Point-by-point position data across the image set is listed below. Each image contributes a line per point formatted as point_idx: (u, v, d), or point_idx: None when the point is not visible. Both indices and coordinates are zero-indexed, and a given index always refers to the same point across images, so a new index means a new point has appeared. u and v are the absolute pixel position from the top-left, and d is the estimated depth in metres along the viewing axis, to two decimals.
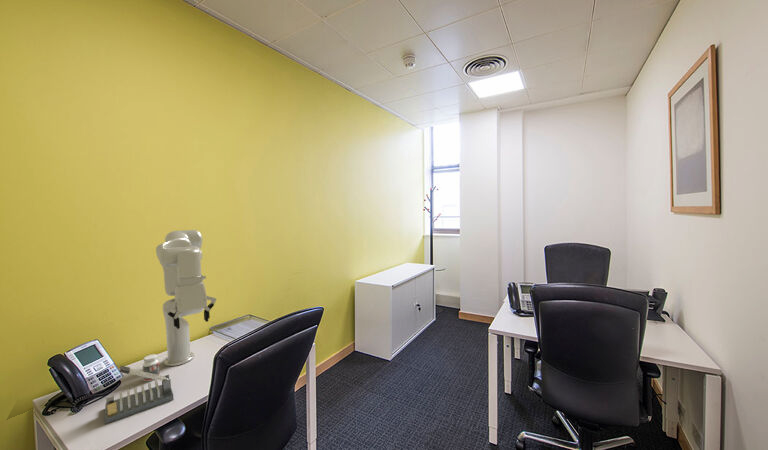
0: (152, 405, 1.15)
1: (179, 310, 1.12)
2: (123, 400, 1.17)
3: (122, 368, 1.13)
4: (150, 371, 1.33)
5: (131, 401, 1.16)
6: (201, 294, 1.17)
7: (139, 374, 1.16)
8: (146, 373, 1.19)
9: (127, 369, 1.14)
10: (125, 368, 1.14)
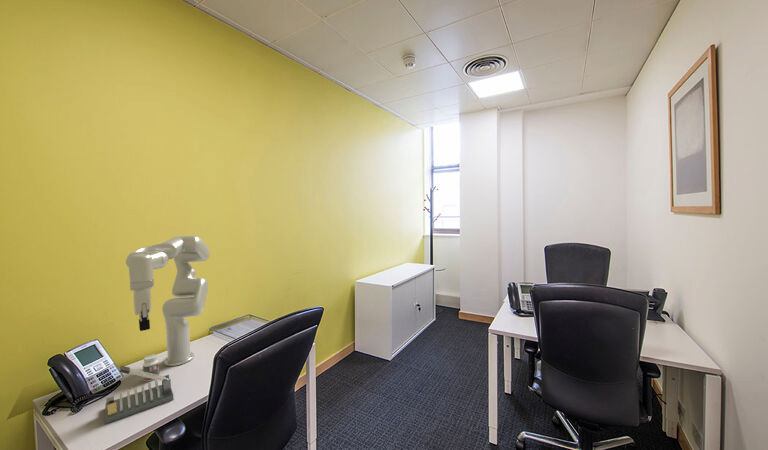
0: (152, 405, 1.15)
1: (150, 310, 1.21)
2: (123, 400, 1.17)
3: (122, 368, 1.13)
4: (150, 371, 1.33)
5: (131, 401, 1.16)
6: None
7: (139, 374, 1.16)
8: (146, 373, 1.19)
9: (127, 369, 1.14)
10: (125, 368, 1.14)
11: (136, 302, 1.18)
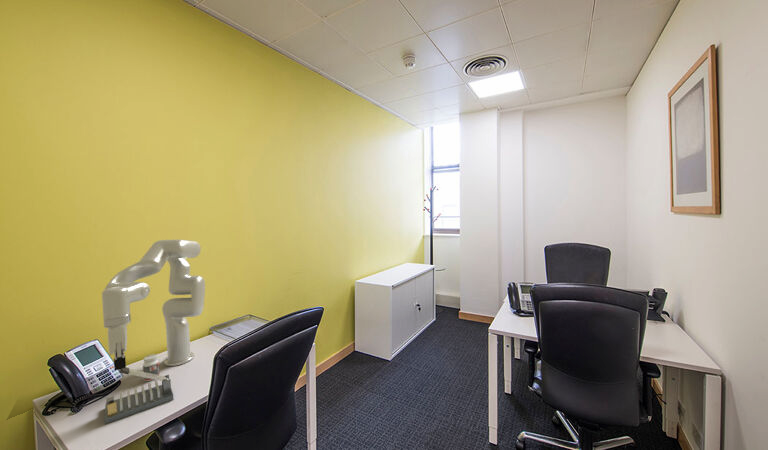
0: (152, 405, 1.15)
1: None
2: (123, 400, 1.17)
3: (121, 369, 1.13)
4: (150, 371, 1.33)
5: (131, 401, 1.16)
6: None
7: (139, 374, 1.16)
8: (146, 373, 1.18)
9: (127, 370, 1.14)
10: (125, 369, 1.14)
11: (110, 341, 1.07)
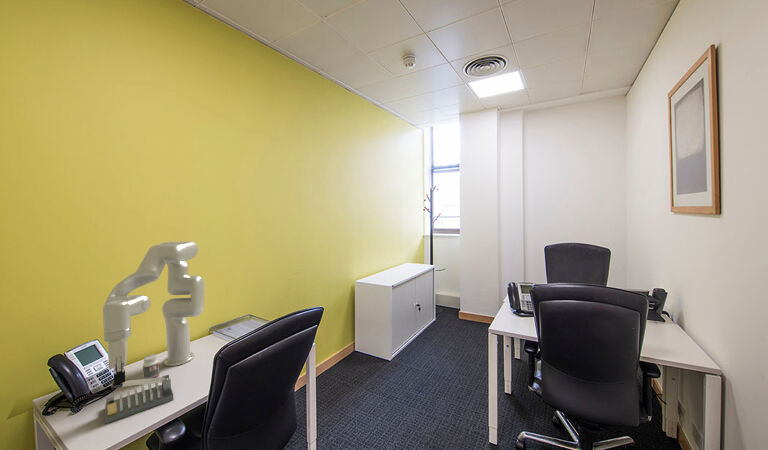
0: (152, 405, 1.15)
1: None
2: (123, 400, 1.17)
3: (113, 384, 1.11)
4: (150, 371, 1.33)
5: (131, 401, 1.16)
6: None
7: (134, 384, 1.15)
8: (142, 380, 1.18)
9: None
10: None
11: (110, 355, 1.07)
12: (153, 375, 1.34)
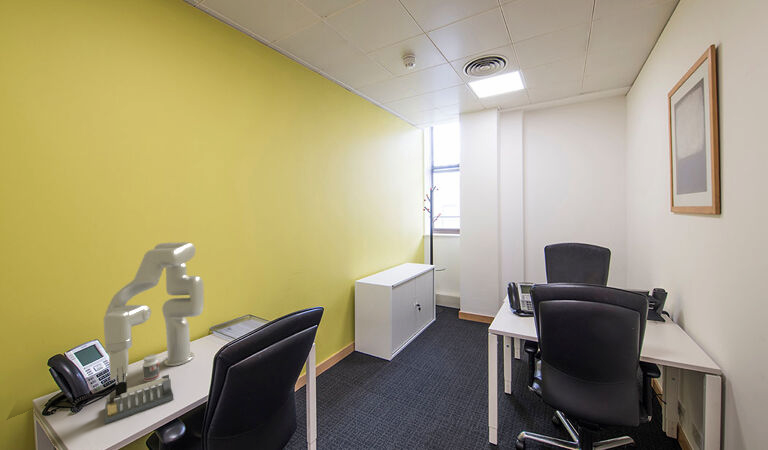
0: (152, 405, 1.15)
1: (127, 373, 1.11)
2: (123, 400, 1.17)
3: (111, 395, 1.11)
4: (150, 371, 1.33)
5: (131, 401, 1.16)
6: None
7: (133, 391, 1.15)
8: (140, 386, 1.17)
9: None
10: (115, 393, 1.12)
11: (111, 366, 1.08)
12: (153, 375, 1.34)
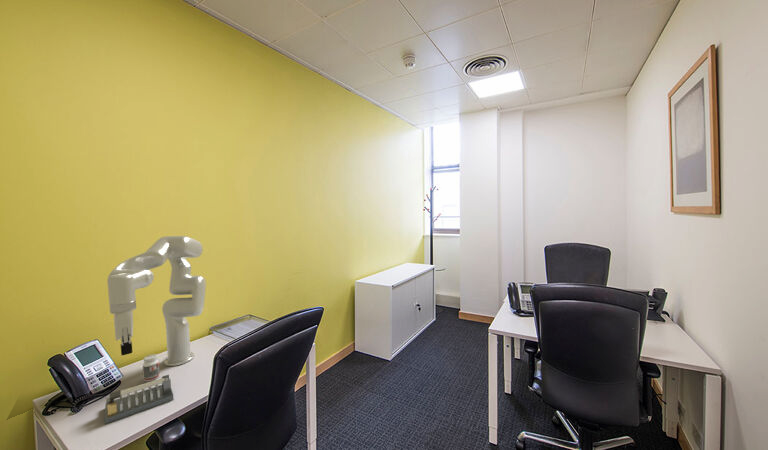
0: (152, 405, 1.15)
1: (132, 334, 1.12)
2: (123, 400, 1.17)
3: (111, 395, 1.11)
4: (150, 371, 1.33)
5: (131, 401, 1.16)
6: None
7: (133, 391, 1.15)
8: (140, 386, 1.17)
9: (117, 393, 1.12)
10: (115, 393, 1.12)
11: (116, 326, 1.09)
12: (153, 375, 1.34)
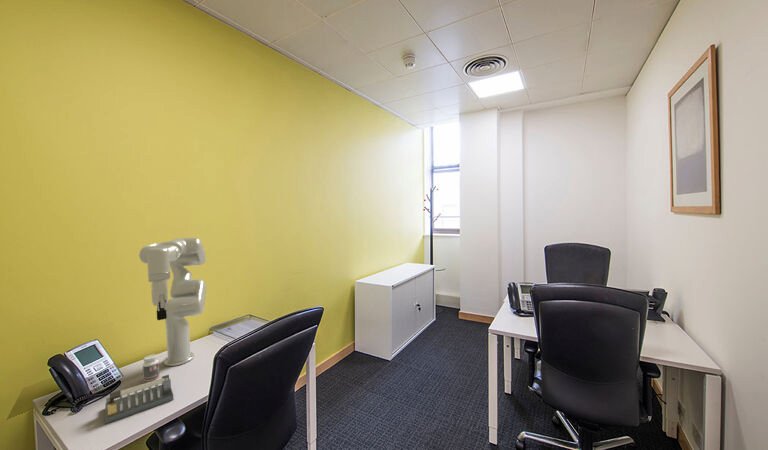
0: (152, 405, 1.15)
1: (167, 301, 1.26)
2: (123, 400, 1.17)
3: (111, 395, 1.11)
4: (150, 371, 1.33)
5: (131, 401, 1.16)
6: None
7: (133, 391, 1.15)
8: (140, 386, 1.17)
9: (117, 393, 1.12)
10: (115, 393, 1.12)
11: (154, 293, 1.23)
12: (153, 375, 1.34)
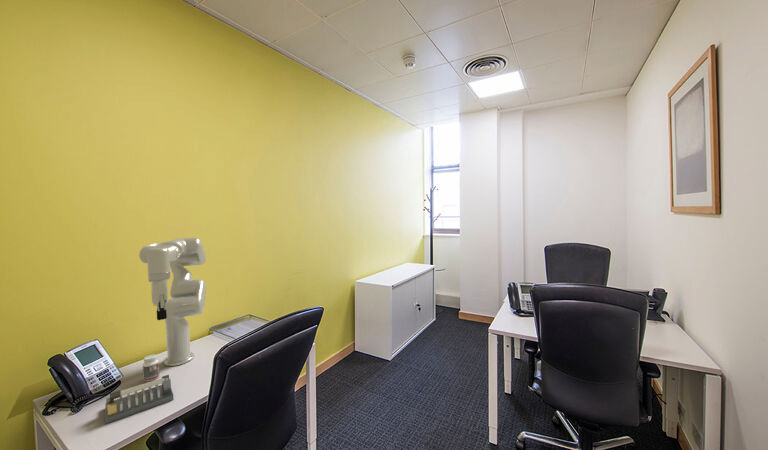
0: (152, 405, 1.15)
1: (167, 301, 1.26)
2: (123, 400, 1.17)
3: (111, 395, 1.11)
4: (150, 371, 1.33)
5: (131, 401, 1.16)
6: None
7: (133, 391, 1.15)
8: (140, 386, 1.17)
9: (117, 393, 1.12)
10: (115, 393, 1.12)
11: (154, 293, 1.23)
12: (153, 375, 1.34)
